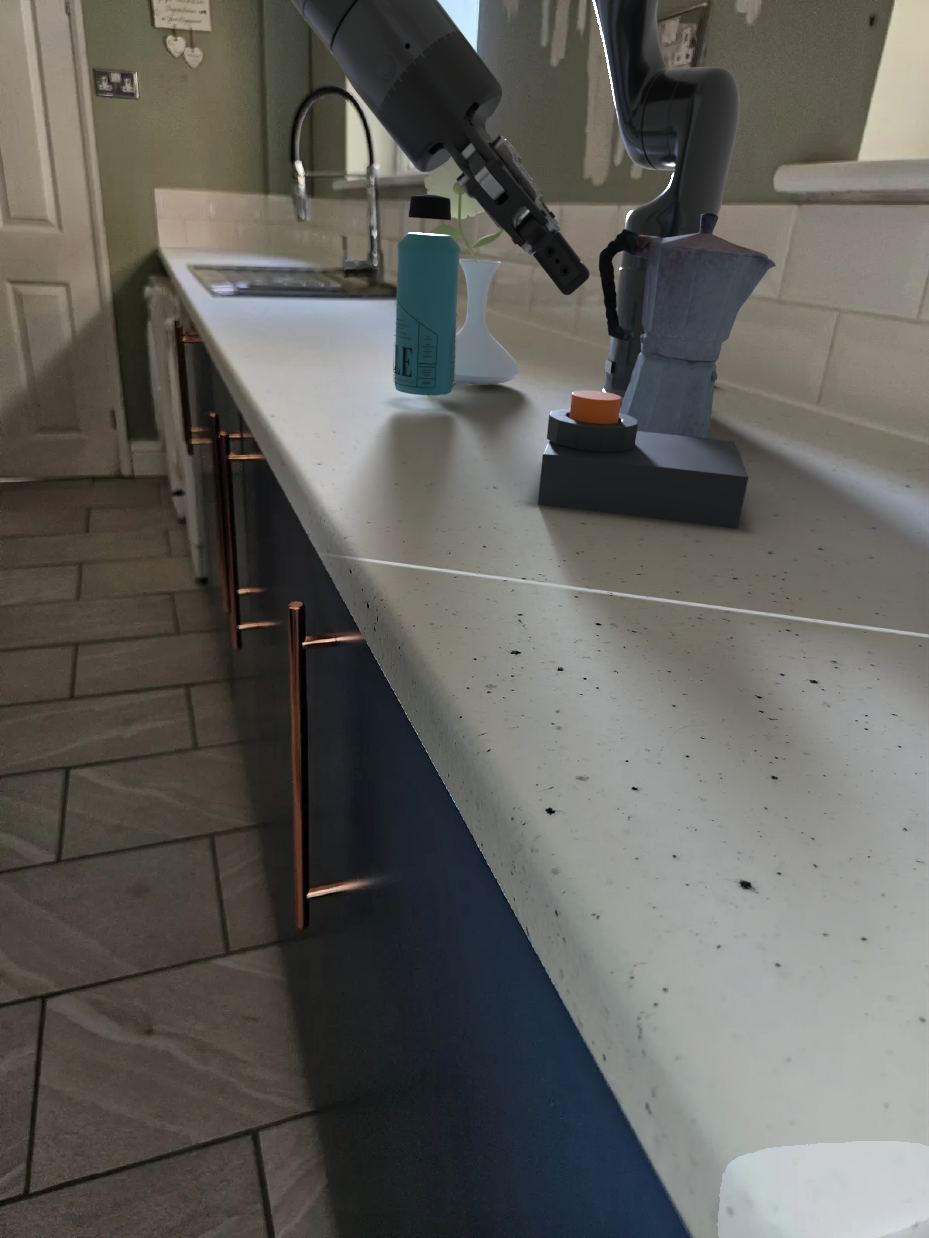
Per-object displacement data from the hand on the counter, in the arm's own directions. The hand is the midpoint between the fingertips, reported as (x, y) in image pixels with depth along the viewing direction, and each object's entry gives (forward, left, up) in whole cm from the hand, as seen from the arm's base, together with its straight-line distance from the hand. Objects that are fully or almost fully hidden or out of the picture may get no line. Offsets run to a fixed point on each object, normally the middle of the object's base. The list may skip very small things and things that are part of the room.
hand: (579, 286), depth 61 cm
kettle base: (-3, +6, -14) cm, 16 cm away
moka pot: (-22, -2, -15) cm, 26 cm away
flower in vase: (-30, -32, -15) cm, 47 cm away
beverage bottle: (-15, -26, -15) cm, 34 cm away
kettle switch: (-1, +2, -9) cm, 10 cm away
